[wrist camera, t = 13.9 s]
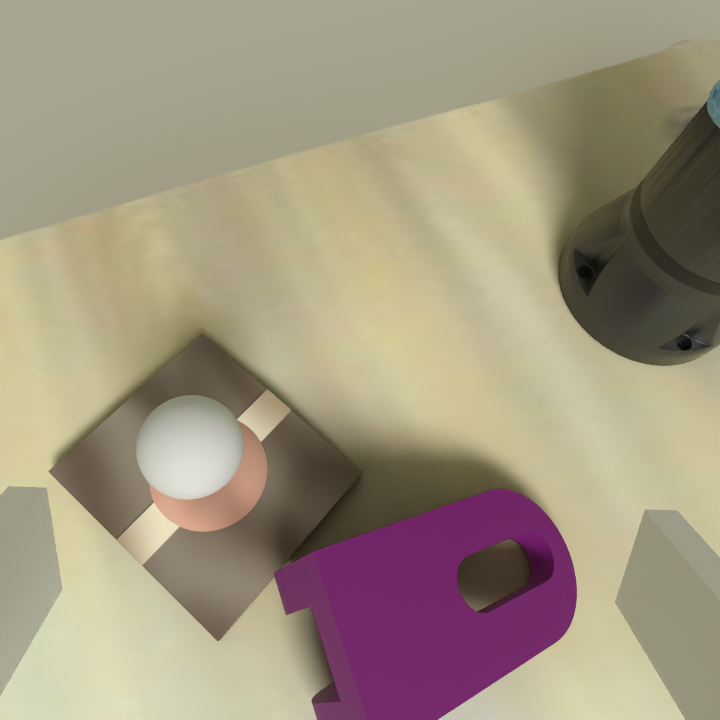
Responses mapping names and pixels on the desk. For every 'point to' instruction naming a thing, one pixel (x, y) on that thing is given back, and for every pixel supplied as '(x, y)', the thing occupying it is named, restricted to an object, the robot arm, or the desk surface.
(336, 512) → the desk surface
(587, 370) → the desk surface
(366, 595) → the mounting bracket
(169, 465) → the light bulb
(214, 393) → the board
